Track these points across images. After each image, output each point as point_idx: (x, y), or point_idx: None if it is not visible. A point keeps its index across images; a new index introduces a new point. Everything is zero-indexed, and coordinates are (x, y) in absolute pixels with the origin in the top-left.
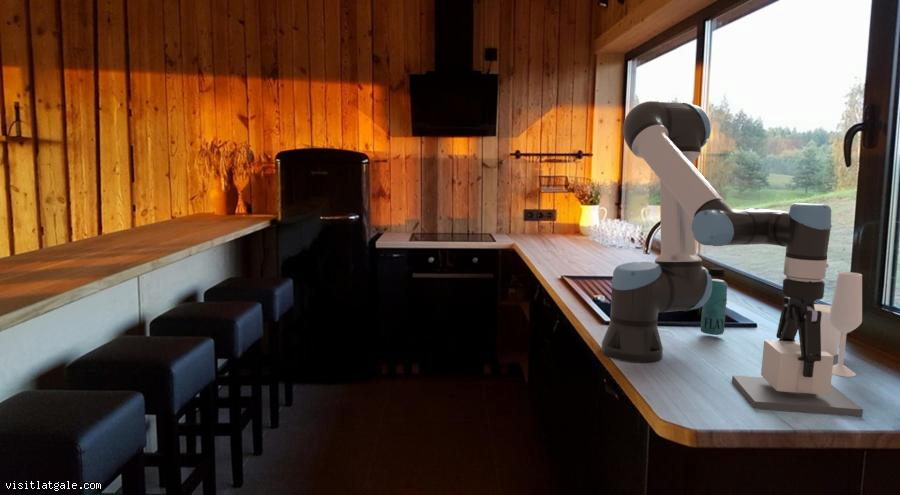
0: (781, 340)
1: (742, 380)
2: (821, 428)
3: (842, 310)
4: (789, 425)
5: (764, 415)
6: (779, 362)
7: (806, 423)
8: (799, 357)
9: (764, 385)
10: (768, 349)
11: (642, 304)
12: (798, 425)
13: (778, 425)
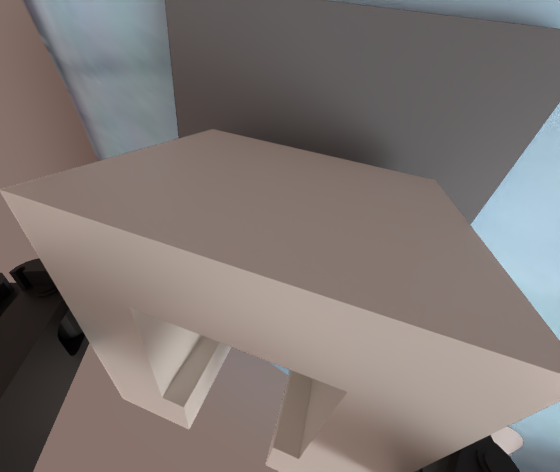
0: (463, 467)
1: (474, 67)
2: (107, 157)
3: None
4: (85, 69)
5: (131, 9)
6: (96, 163)
7: (122, 136)
8: (25, 271)
9: (368, 157)
10: (350, 253)
11: None
12: (98, 101)
13: (67, 23)
